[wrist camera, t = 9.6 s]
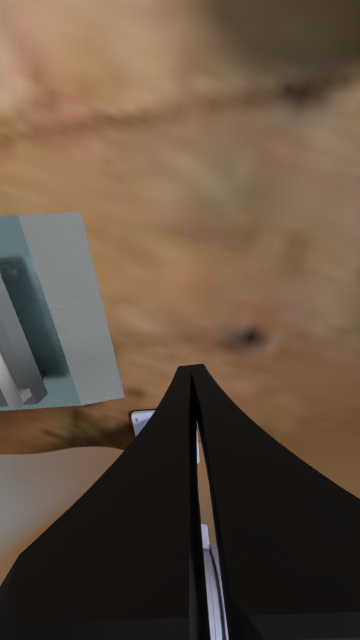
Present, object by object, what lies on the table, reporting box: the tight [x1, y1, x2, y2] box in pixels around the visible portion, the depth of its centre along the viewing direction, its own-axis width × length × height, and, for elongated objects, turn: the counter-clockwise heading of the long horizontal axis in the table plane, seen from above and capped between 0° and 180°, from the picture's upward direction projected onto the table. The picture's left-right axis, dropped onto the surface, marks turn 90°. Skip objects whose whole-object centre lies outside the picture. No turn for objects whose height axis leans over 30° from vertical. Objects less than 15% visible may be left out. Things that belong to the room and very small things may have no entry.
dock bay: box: [0, 212, 125, 411], centre depth 17 cm, size 20×18×3 cm
